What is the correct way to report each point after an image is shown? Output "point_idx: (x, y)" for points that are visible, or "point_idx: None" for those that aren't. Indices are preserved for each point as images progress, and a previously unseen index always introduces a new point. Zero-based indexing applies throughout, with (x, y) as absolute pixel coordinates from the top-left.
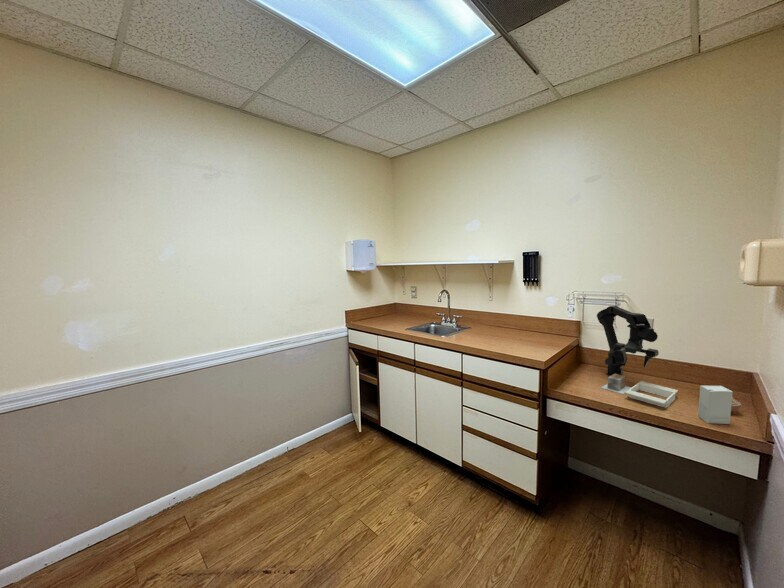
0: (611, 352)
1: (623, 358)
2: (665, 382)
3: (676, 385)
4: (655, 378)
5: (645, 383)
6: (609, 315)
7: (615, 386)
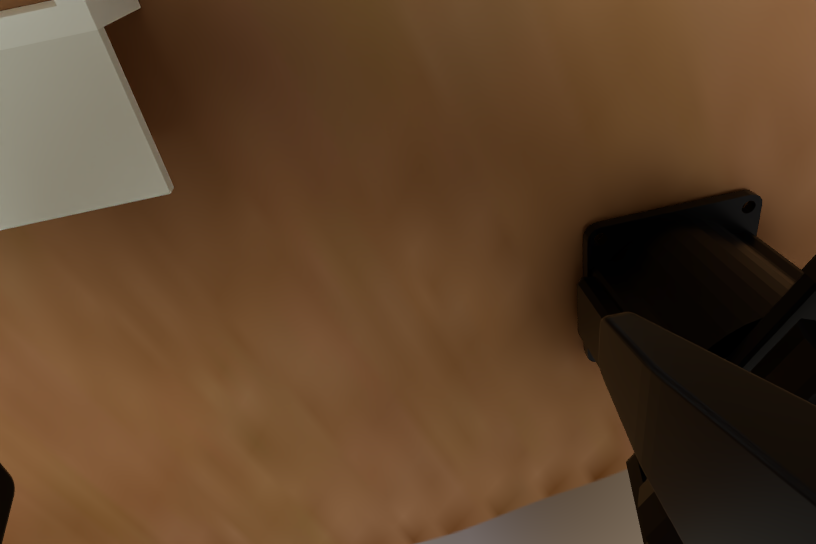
0: None
1: (739, 415)
2: (205, 520)
3: (101, 535)
4: (325, 530)
5: (27, 136)
6: None
7: None
